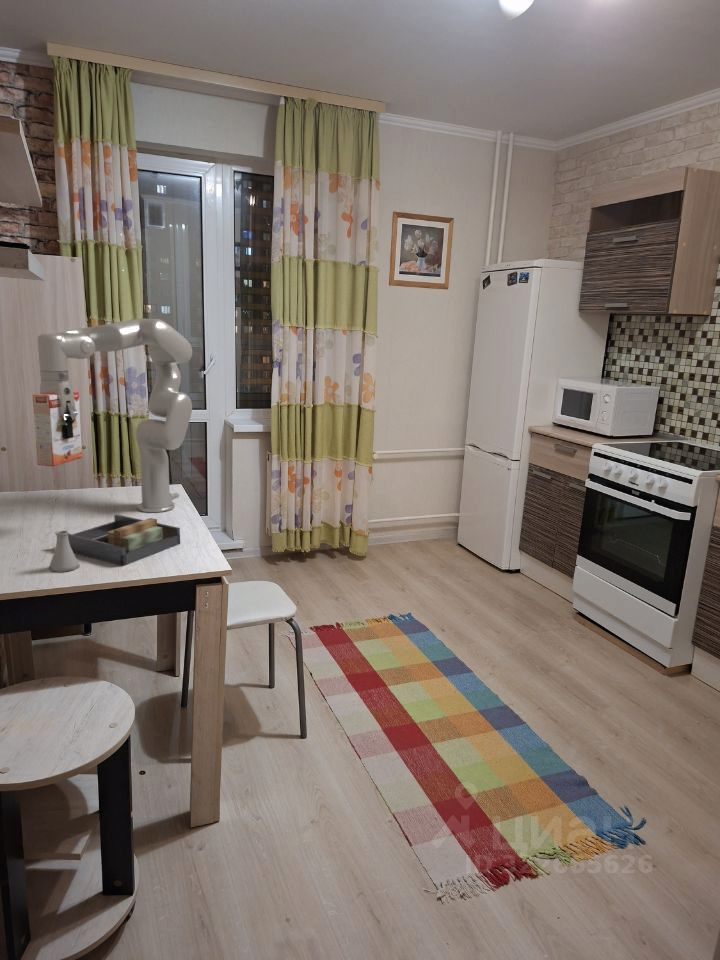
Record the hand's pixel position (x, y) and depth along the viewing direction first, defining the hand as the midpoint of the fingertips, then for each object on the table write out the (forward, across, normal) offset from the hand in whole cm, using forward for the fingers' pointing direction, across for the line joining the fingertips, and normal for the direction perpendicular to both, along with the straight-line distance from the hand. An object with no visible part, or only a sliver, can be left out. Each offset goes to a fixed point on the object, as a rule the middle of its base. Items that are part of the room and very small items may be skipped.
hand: (59, 436), depth 195 cm
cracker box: (+8, 0, 0) cm, 8 cm away
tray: (+30, -23, 0) cm, 38 cm away
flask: (+31, -24, +20) cm, 44 cm away
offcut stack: (+31, -30, 0) cm, 43 cm away
